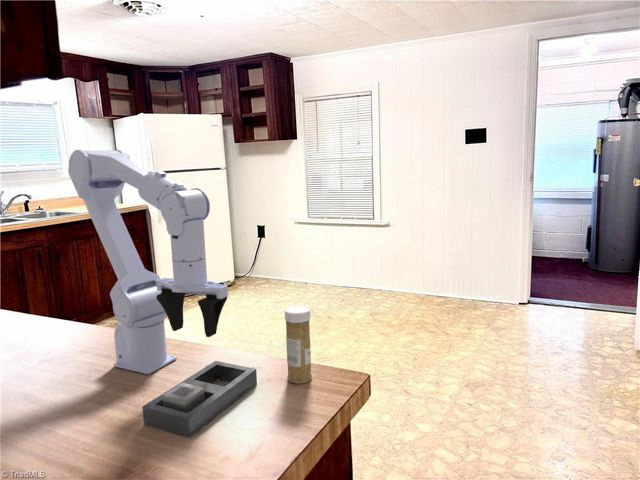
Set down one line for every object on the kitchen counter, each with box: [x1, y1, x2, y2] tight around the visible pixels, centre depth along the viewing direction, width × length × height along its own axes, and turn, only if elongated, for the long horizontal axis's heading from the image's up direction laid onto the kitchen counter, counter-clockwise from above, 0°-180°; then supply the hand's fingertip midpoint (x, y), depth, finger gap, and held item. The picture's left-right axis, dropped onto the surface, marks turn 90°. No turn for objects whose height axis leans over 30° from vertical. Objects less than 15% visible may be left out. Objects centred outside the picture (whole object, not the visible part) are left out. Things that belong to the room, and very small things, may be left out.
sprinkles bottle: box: [284, 305, 313, 385], centre depth 87 cm, size 5×5×14 cm
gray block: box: [161, 382, 205, 413], centre depth 75 cm, size 4×4×5 cm
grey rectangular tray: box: [142, 360, 258, 439], centre depth 79 cm, size 9×18×3 cm, turn 155°
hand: (194, 332), depth 86 cm, fingers open, 7 cm apart
